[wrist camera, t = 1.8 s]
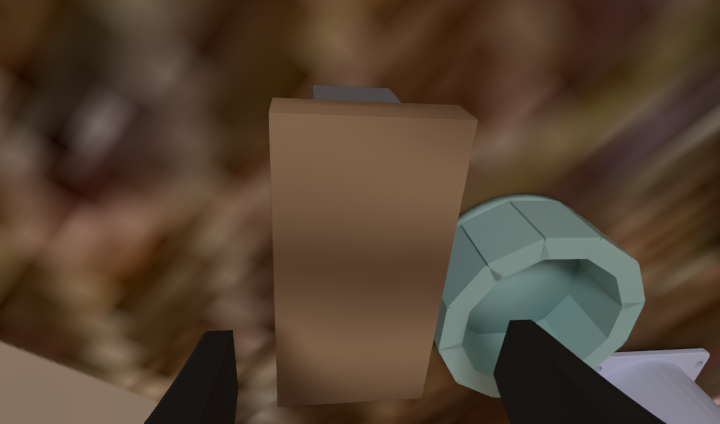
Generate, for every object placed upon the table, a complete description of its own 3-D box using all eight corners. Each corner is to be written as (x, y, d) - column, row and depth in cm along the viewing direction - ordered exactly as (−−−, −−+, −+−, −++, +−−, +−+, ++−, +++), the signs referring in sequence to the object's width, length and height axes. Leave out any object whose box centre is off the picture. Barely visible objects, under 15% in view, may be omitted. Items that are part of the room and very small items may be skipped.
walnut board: (412, 365, 18) (421, 398, 16) (279, 372, 17) (277, 407, 16) (458, 105, 13) (478, 120, 11) (272, 97, 12) (268, 112, 11)
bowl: (558, 333, 25) (601, 391, 21) (408, 339, 23) (427, 401, 20) (612, 194, 20) (676, 237, 17) (432, 191, 19) (462, 238, 16)
